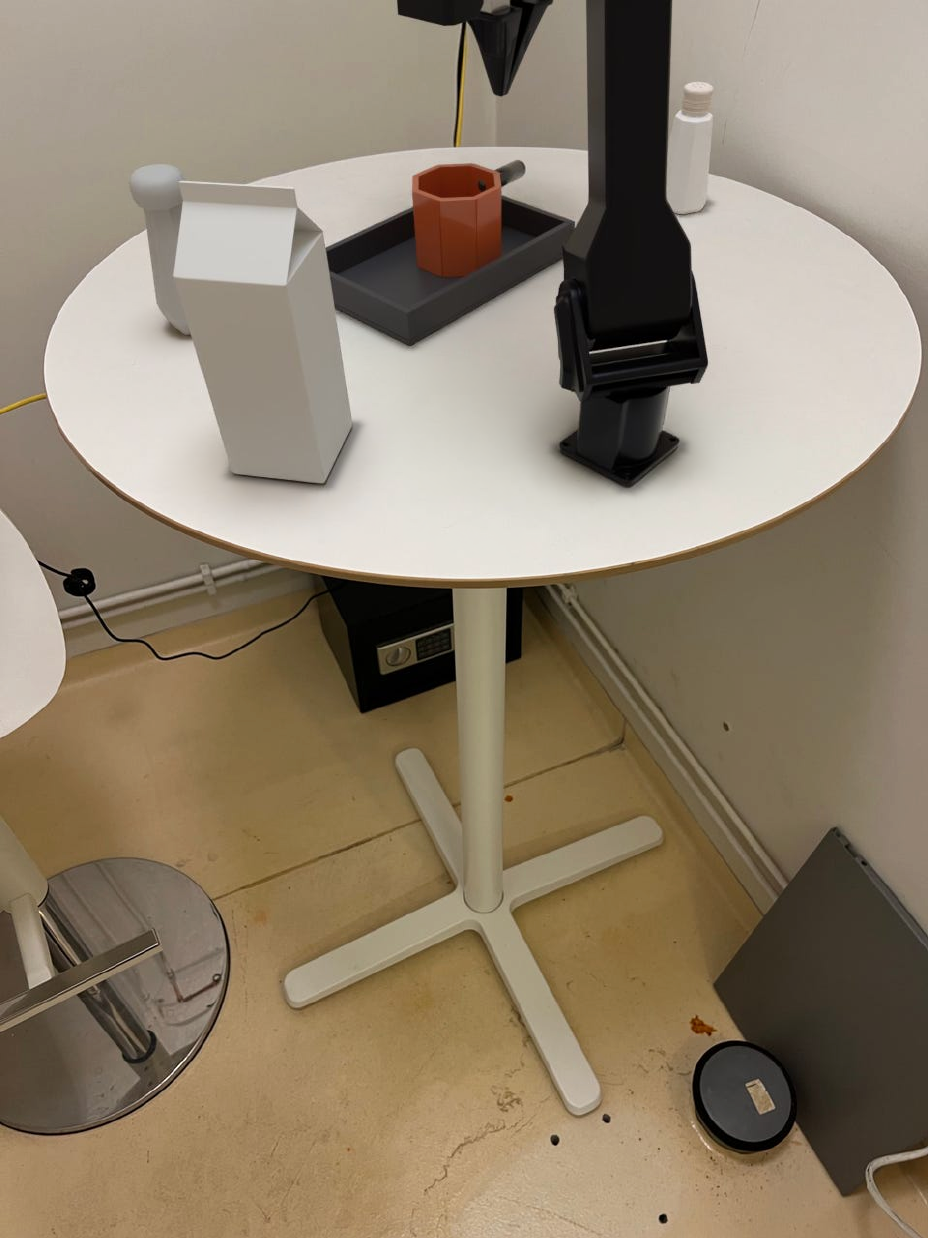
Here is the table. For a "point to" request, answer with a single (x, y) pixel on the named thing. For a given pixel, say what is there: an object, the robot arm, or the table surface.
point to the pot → (459, 216)
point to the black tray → (424, 302)
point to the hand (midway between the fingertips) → (500, 94)
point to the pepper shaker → (690, 150)
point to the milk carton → (263, 328)
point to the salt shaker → (162, 233)
